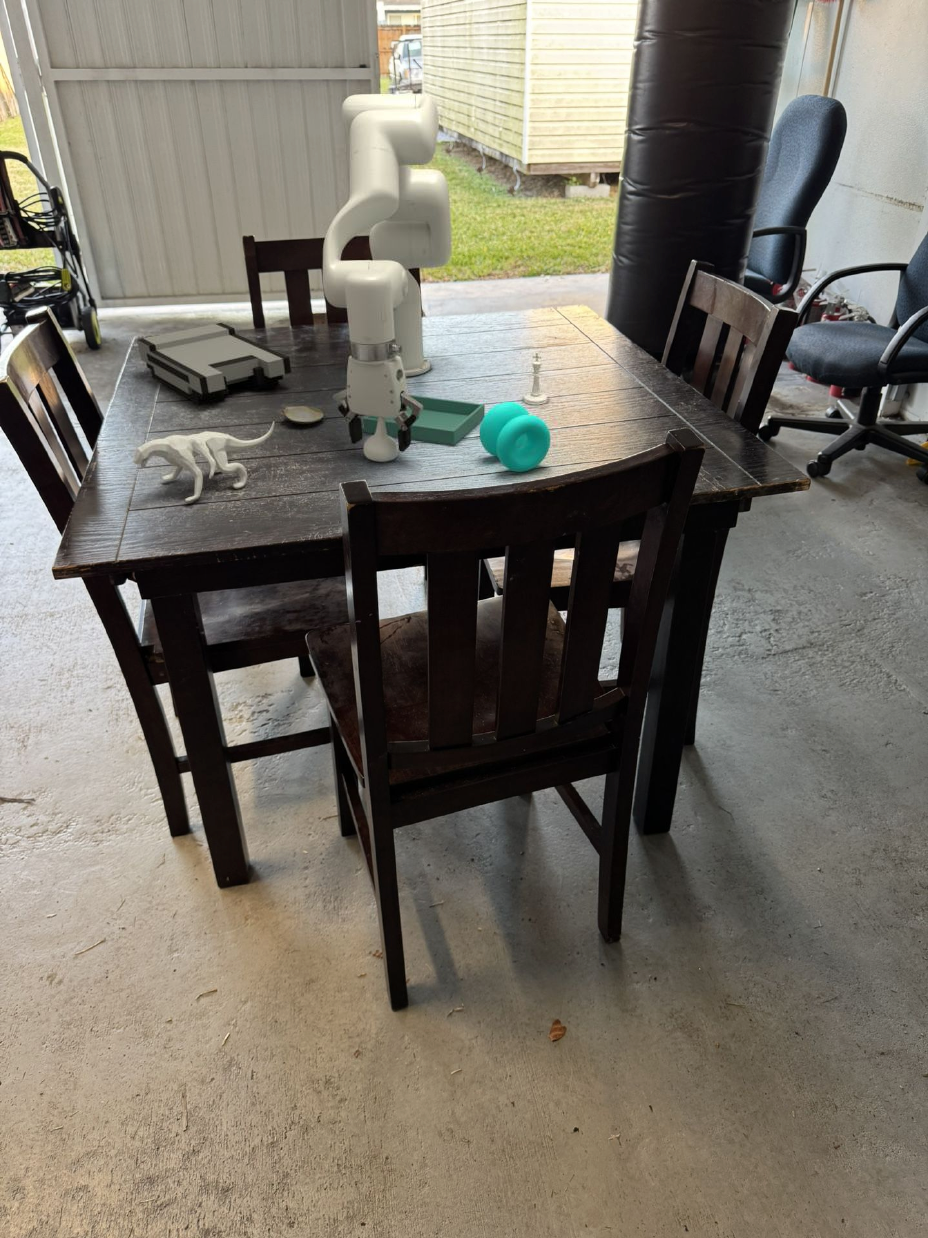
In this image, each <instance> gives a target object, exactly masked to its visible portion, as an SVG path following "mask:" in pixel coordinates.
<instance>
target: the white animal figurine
mask: <svg viewBox="0 0 928 1238" xmlns="http://www.w3.org/2000/svg"><path fill="white" fill-rule="evenodd" d="M274 429H275V421H274V420H273V421H272V424H271V426H270V428H269V430H268V431H267V433H265V434H264V435H262V436H260V437H258V438H254V439H249V440H243V439H238V438H236V437H234V436H232V435H230V434H227V433H223V432H218V431H208V430H207V431H206V430H204V431H203V432H200V433H192V434H188V435H181V434H173V435H168V436H166V437H165V438H164V437H163V438H157V439H152V440H150V441H146V442H145V443H143V444H141V445H140V446H138V447H136V449H135V453H134V457H133V459H132V463H134V464H135V465H139V466H140V467H141V468H142V469H143V468H146V467H147V464H148V462H149V460H150V459H151V458H152V457H154V456H155V457H160V458H163V459H164V460H165V461H166V462H167V463H169V464H170V465H171V466H172V467H174V468H173V471H172V472H171V473H169V474H166V475H163V476H162V477H161V480H162V481H163V482H165V483H168V482H170V481H172V480H175V479H177V478H178V476H179V475H180V473H181V472H183V469H184V470H187V471H189V472H190V473H191V475H192V476H193V477H194V493H193V495H192V496H189V497H186V498H185V499H184V502H185V503H191V502H193V501H196V500H198V499H199V498H200V496H201V494H202V493H201V492H202V490H203V483H204V482H203V481H204V477H203V473H202V470H201V468H199V466H198V465H197V464H196V460H195V458H196V457H198V456H201V457H202V458H203V459H204V460H206V461H207V463H208V464H209V467H210V470H209V476H208V479H209V480H211V479H212V478H213V477H214V476H215V475H214V474H215V473H222V474H225V475H231V474H234V473H235V472H237V474H238V475H239V481H238V482H235V483H233V484H232V488H233V489H236V490H237V489H242V488H244V487H245V485H246V484H247V481H248V473H247V470H246V468H245V466H244V465H243V464H241V463H240V462H231V463H228V462H229V461H228V455H227V452H235V451H237V452H238V451H242V450H248V449H251V448H255V447H258V446H259V445H261V444H263V443H264V442H265V441H266V440H268V439H269V438H270V437H271V435H272V434H273V433H274Z"/></svg>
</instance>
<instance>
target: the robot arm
mask: <svg viewBox="0 0 928 1238" xmlns="http://www.w3.org/2000/svg"><path fill="white" fill-rule="evenodd" d="M439 117H440V116H439V111H438V106H437V103H436V101H435V99H434V98H433V97H432V96H431V95H429V94H426V93H363V94H362V93H361V94H351V95H350V96H348V97H347V98H345V100H344V101H343V102H342V104H341V119H342V122H343V126H344V128H345V130H346V133H347V134H348V136H349V200H348V201H347V202H346V204H345V205H344V206H343V207H342V208H341V209H340V210H339V211H338V213H337V214H336V215H335V216H334V218H333V220H332V222H331V223H330V225H329V227H328V229H327V231H326V234H325V237H324V240H323V248H322V288H323V293H324V296H325V299H326V300H327V302H328V304H330V305H331V306H332V307H335V308H339V309H346V312H347V313H346V314H347V324H348V333H349V344H350V355H349V356H348V361H347V368H346V369H347V370H346V388H344V389H342V390H340V391H338V392H336V393H335V394H333V395H332V400H333V401H334V403H335V405H336V406H337V409H338V412H339V413H340V414H341V415H342V416H343V417H344V421H345V422H346V423H347V424H348V434H349V437H350V443H351V445H356V444H357V443H359V442H360V441H362V440H363V439H364V435H363V425H362V424H363V421H362V419H361V418H362V417H360V415H363V416H374V417H381V418H389V419H394V421H395V422H396V423H397V425H398V426H399V427H400V429H399V430H398V437H397V445H398V452H402V453H403V452H405V451H406V450H407V449H408V448H410V446H411V445H412V439H411V428H410V426H411V425H413V423H414V422H415V421H416V420H417V419H418V418H419V415H420V414H421V412H422V409H423V405H422V404H421V403H419V402H418V401H416V400H415V399H413V398H412V397H410V396H409V395H410V394H409V391H408V384H407V377H414V376H419V375H422V374H425V373H427V372H428V371H429V370H430V369H431V361H430V360H428V359H427V358H425V357H424V342H423V318H422V316H423V315H422V296H421V288H420V285H419V283H418V282H417V280H416V279H415V277H414V276H413V275H412V273H411V272H410V271H409V269H410V270H411V269H433V268H443V267H445V266H446V265H448V264H449V262H450V260H451V256H452V248H453V247H452V245H453V244H452V225H451V224H452V223H451V207H450V205H451V204H450V203H451V202H450V192H449V186H448V185H449V184H448V182H447V178H446V176H445V175H444V173H442V172H441V171H440V170H437V169H432V168H411V167H410V166H424V165H429V164H430V163H431V162H432V161H433V158H434V156H435V153H436V147H437V143H438V142H437V141H438V135H439V127H440V118H439ZM369 228H371V229H370V232H369V235H368V236H369V237H368V238H369V250H370V255H371V259H372V260H371V259H367V260H366V259H364V260H363V259H362V260H358V259H357V260H356V259H355V260H353V259H352V260H341V259H342V253H343V251H344V249H345V247H346V246H347V244H348V243H349V242H350V241H351V240H353V238H355V236H358V235H359V234H361V233H362V232H364V231H366V230H369ZM345 398H346V399H347V402H346V400H345ZM408 408H411V409H412V413H411V415H410V417H409V415H408V414H407V413H406V410H408Z"/></svg>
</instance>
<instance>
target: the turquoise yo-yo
mask: <svg viewBox="0 0 928 1238" xmlns="http://www.w3.org/2000/svg"><path fill="white" fill-rule="evenodd" d="M479 440H480V444H481V446H482V447H483V448H484V450H485V451H486V452H487V453H488V454H490V455H492V456H494V457H496V458H498V460H499V461H500V463H501V464H502V465H503V466H504V467H505V468H506V469H508V470H509V471H512V472H515V473H516V472H517V473H523V472H528V471H531V470H533V469H534V468H536V467H537V466H539V465H540V464H541V463H542V462H543V460H545V458H546V456H547V454H548V452H549V450H550V447H551V432H550V429H549V427H548V425H547V424H546V422H545V421H544V420H542V418H540V417H538V416H536V415H532V414H530V413H529V412H528V410H527V409H526V408H525V407H524V406H522V405H521V404H520V403H517V402H513V401H504V402H501V403H500V402H499V403H498V404H495V405H494V406H493V407H491V408H490V409H489V410H488V411H487V412H486V413H485V416H484V418H483V420H482V421H481V422H480V426H479Z"/></svg>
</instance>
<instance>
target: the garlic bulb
mask: <svg viewBox="0 0 928 1238" xmlns="http://www.w3.org/2000/svg"><path fill="white" fill-rule="evenodd" d="M363 454H364V456H365V457H366V458H367V459H368V460H370V461H373V462H380V463H382V462H383V463H384V462H390V461H393V460H395V459H396V458H397V456H398V454H399V446H398V442H397V441H396V440H395V438H393V436H388V435H387V432H386V425H385V418H381V417H378V423H377V428H376V432H375V434H373V435H371V436H369V437H367V438H366V439H365V441H364V444H363Z"/></svg>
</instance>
